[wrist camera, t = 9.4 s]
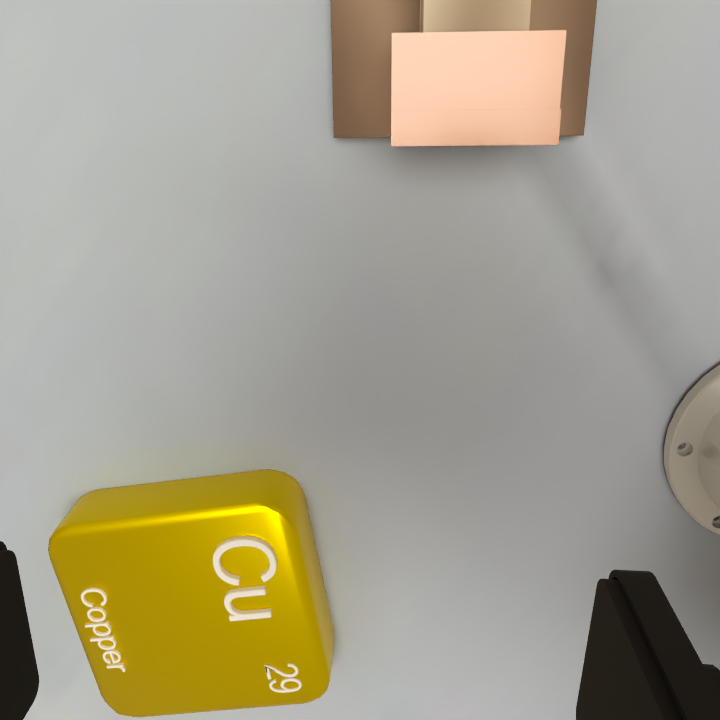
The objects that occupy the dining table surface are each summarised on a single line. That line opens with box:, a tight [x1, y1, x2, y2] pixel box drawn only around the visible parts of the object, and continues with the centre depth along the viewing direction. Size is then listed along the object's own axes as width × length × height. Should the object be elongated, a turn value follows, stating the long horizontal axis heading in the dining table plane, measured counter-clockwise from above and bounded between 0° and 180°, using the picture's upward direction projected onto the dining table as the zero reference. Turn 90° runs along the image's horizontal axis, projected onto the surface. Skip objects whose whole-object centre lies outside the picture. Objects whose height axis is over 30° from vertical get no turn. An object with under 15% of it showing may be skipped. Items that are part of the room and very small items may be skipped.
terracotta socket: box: [391, 30, 567, 146], centre depth 29 cm, size 6×4×7 cm, turn 91°
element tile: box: [48, 469, 334, 717], centre depth 43 cm, size 15×15×5 cm
